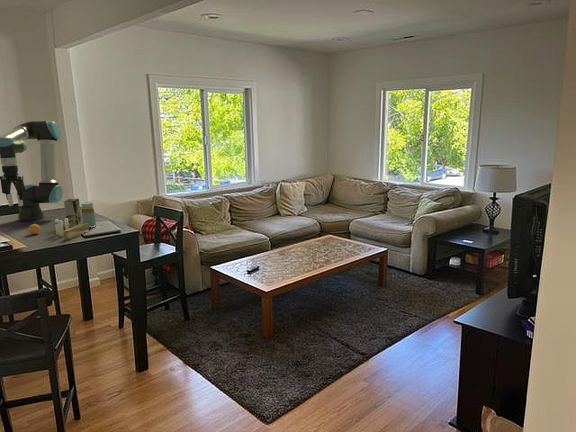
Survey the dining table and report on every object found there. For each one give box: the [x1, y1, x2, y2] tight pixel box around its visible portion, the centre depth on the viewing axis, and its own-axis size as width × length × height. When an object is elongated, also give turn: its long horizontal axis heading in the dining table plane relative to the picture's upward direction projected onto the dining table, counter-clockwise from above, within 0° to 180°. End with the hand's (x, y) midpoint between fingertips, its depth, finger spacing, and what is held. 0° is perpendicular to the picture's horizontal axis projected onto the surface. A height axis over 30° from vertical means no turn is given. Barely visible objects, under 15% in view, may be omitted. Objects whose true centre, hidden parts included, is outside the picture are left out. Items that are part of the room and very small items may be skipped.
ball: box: [28, 223, 41, 235], centre depth 251 cm, size 6×6×6 cm
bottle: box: [81, 201, 97, 226], centre depth 264 cm, size 7×7×15 cm
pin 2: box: [63, 217, 70, 230], centre depth 250 cm, size 2×2×9 cm
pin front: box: [53, 218, 60, 236], centre depth 248 cm, size 2×2×9 cm
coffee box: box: [63, 198, 83, 228], centre depth 270 cm, size 9×6×16 cm
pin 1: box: [58, 219, 64, 237], centre depth 245 cm, size 2×2×9 cm
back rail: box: [63, 222, 90, 241], centre depth 247 cm, size 3×18×5 cm, turn 171°
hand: (16, 205), depth 250 cm, fingers open, 6 cm apart
